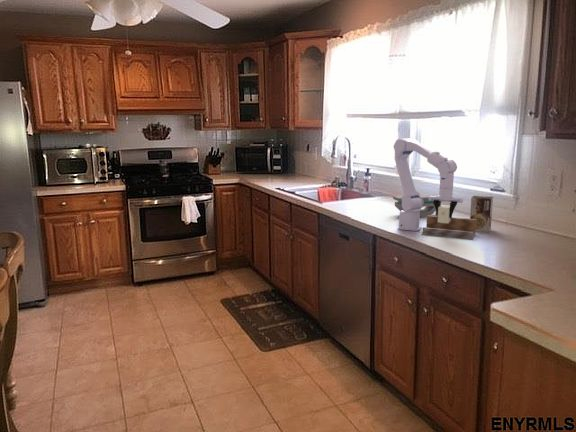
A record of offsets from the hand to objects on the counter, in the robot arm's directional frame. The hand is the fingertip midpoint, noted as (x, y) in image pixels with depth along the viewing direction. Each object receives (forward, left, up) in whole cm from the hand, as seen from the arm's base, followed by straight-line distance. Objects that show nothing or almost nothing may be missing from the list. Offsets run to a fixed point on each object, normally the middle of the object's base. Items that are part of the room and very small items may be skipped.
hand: (444, 217), depth 215 cm
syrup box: (-5, +26, -9) cm, 28 cm away
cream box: (0, 0, -2) cm, 2 cm away
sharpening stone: (-21, +40, -9) cm, 47 cm away
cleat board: (+2, +4, -9) cm, 10 cm away
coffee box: (+14, +19, -9) cm, 25 cm away
